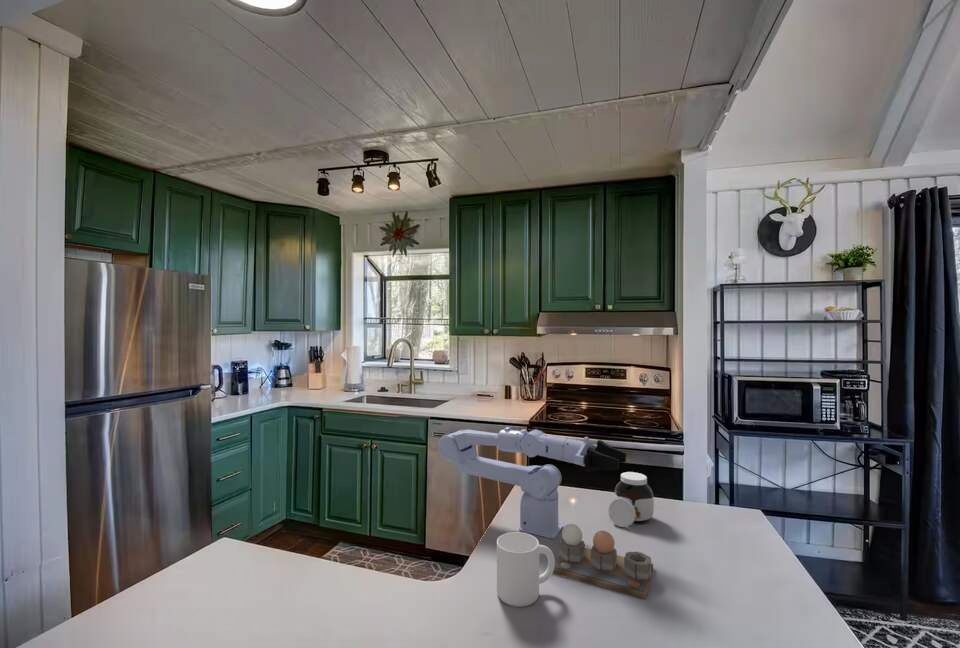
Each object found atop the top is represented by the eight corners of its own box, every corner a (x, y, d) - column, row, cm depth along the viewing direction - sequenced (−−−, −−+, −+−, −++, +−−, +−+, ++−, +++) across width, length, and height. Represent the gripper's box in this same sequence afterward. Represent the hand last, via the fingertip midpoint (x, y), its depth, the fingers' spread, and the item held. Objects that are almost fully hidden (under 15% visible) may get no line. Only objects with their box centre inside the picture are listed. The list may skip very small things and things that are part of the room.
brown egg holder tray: (551, 572, 91) (551, 553, 91) (567, 547, 102) (567, 530, 102) (646, 599, 82) (646, 578, 82) (653, 568, 93) (653, 550, 93)
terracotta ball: (590, 554, 92) (590, 533, 92) (595, 545, 96) (595, 525, 96) (612, 560, 90) (612, 538, 90) (616, 550, 94) (616, 529, 94)
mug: (546, 577, 90) (546, 527, 90) (564, 601, 82) (563, 547, 82) (491, 585, 87) (491, 534, 87) (504, 611, 79) (504, 555, 79)
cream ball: (559, 546, 95) (559, 526, 95) (565, 538, 99) (565, 518, 99) (579, 551, 93) (579, 531, 93) (584, 542, 97) (584, 522, 97)
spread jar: (651, 514, 120) (650, 472, 120) (658, 533, 109) (658, 487, 109) (606, 510, 123) (606, 469, 123) (609, 528, 112) (609, 483, 112)
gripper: (557, 438, 102) (616, 450, 95) (576, 429, 114) (629, 439, 107) (555, 468, 102) (613, 482, 95) (575, 456, 114) (627, 467, 107)
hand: (622, 461), depth 101 cm, fingers open, 7 cm apart
